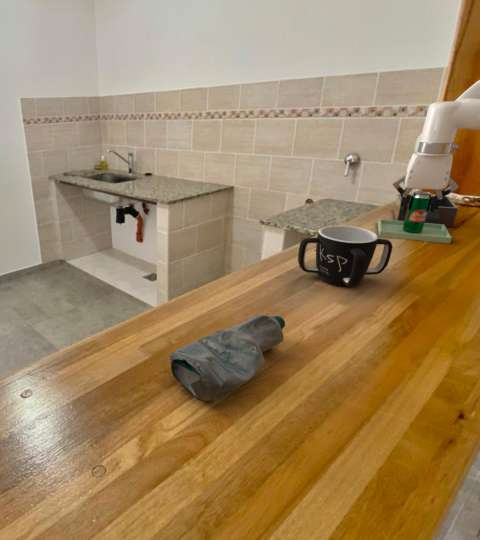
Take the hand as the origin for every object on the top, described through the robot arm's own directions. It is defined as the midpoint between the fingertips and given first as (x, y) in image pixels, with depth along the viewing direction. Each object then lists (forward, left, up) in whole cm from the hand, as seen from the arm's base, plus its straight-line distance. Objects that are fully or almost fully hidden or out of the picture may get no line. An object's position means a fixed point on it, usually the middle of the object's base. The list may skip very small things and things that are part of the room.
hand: (417, 209), depth 115 cm
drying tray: (0, 0, -8) cm, 8 cm away
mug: (+18, +44, -8) cm, 48 cm away
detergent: (+32, +87, -8) cm, 93 cm away
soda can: (0, 0, -7) cm, 7 cm away
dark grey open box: (-4, -17, -8) cm, 19 cm away
